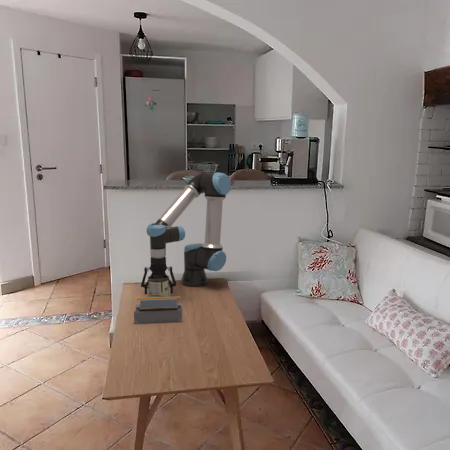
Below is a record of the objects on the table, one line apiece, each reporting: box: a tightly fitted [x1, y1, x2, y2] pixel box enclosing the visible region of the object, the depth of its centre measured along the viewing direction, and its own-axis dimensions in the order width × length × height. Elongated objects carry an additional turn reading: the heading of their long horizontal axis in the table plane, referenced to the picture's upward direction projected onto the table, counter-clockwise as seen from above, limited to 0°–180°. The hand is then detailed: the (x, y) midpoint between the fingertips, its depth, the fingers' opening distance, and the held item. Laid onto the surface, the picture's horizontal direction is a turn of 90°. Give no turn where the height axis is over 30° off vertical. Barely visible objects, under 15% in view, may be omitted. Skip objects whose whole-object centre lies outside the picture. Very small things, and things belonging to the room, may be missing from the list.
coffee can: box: [147, 275, 170, 298], centre depth 214 cm, size 10×10×14 cm
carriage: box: [135, 296, 183, 310], centre depth 207 cm, size 22×3×5 cm, turn 98°
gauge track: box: [133, 306, 183, 324], centre depth 200 cm, size 21×18×5 cm
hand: (159, 299), depth 215 cm, fingers closed on coffee can, 10 cm apart
